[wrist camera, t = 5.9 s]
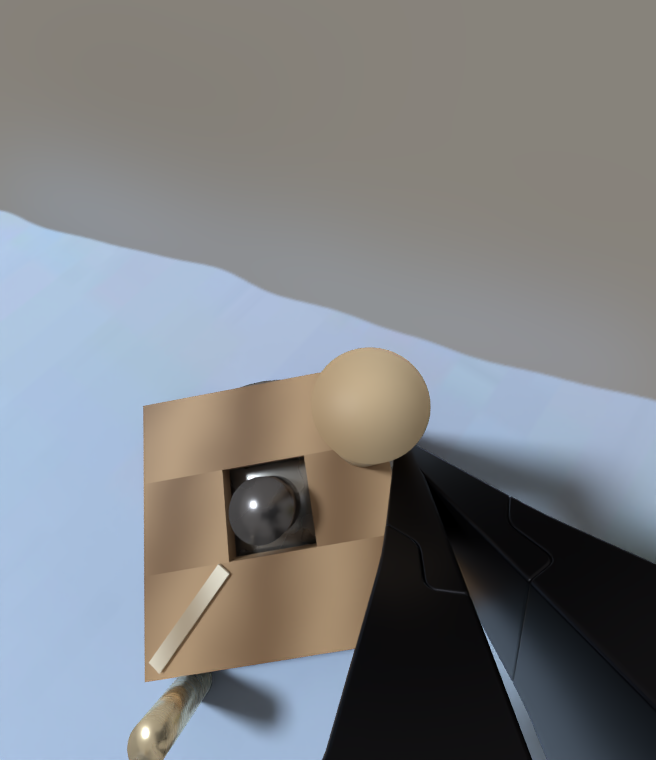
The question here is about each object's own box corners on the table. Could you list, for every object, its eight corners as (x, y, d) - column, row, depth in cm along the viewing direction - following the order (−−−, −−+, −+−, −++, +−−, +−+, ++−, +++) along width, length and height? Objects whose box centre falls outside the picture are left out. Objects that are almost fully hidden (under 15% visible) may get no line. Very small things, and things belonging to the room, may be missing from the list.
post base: (444, 455, 18) (468, 452, 14) (288, 783, 15) (265, 893, 11) (245, 347, 21) (220, 320, 17) (77, 601, 18) (-1, 638, 14)
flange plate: (369, 368, 19) (386, 237, 8) (425, 626, 15) (591, 996, 4) (154, 409, 19) (-95, 334, 9) (158, 668, 15) (-269, 1099, 5)
